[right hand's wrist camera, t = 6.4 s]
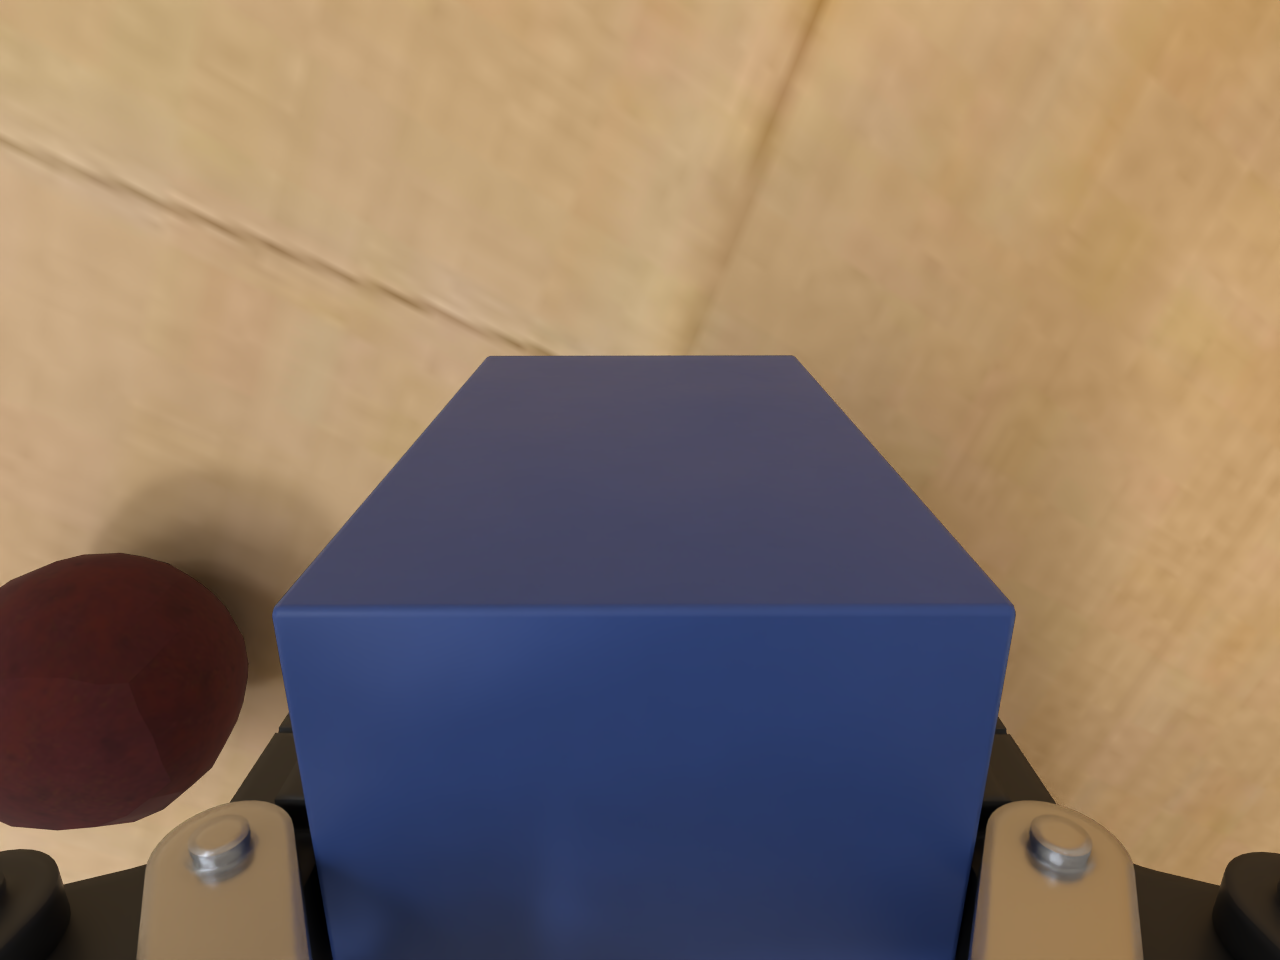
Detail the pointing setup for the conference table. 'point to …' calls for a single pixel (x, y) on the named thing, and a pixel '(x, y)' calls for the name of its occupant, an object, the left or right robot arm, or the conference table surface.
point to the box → (643, 679)
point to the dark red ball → (111, 690)
